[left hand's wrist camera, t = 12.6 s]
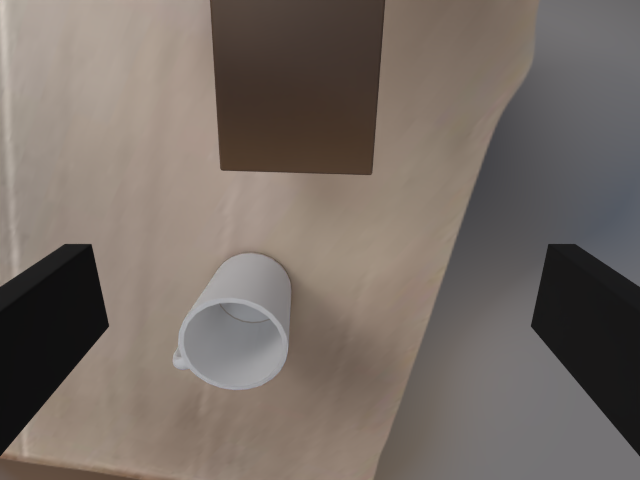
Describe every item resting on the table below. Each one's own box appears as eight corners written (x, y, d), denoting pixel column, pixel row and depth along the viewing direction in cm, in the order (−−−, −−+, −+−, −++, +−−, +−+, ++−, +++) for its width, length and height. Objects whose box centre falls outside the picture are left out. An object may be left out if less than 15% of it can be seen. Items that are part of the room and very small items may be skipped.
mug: (268, 232, 42) (252, 279, 32) (310, 303, 44) (307, 365, 35) (176, 278, 44) (135, 335, 34) (222, 343, 46) (196, 412, 37)
